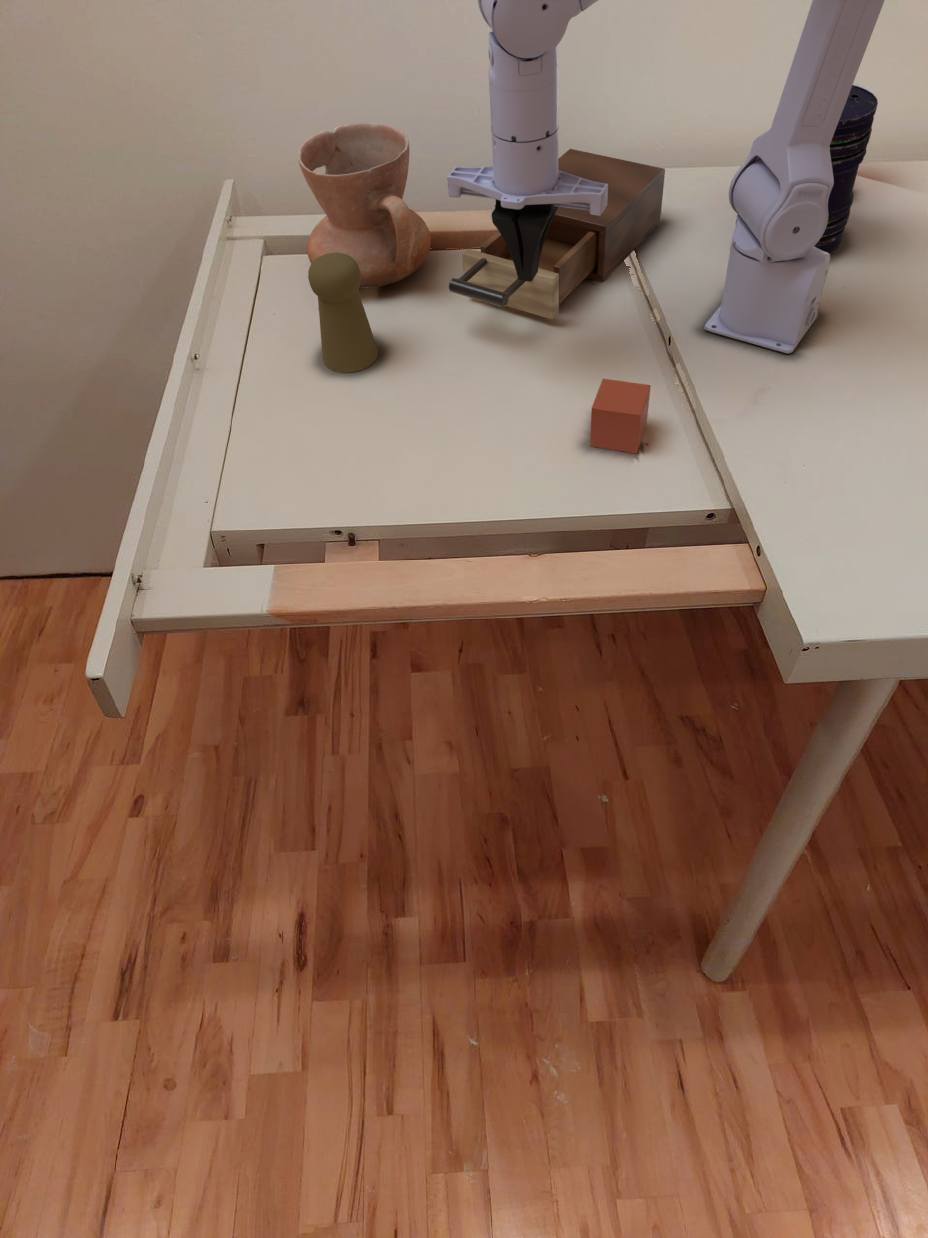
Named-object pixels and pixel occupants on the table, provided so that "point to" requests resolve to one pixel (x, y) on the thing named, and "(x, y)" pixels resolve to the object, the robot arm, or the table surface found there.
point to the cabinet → (615, 205)
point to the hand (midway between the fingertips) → (528, 275)
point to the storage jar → (847, 162)
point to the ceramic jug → (365, 201)
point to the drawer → (558, 275)
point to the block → (619, 415)
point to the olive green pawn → (342, 314)
